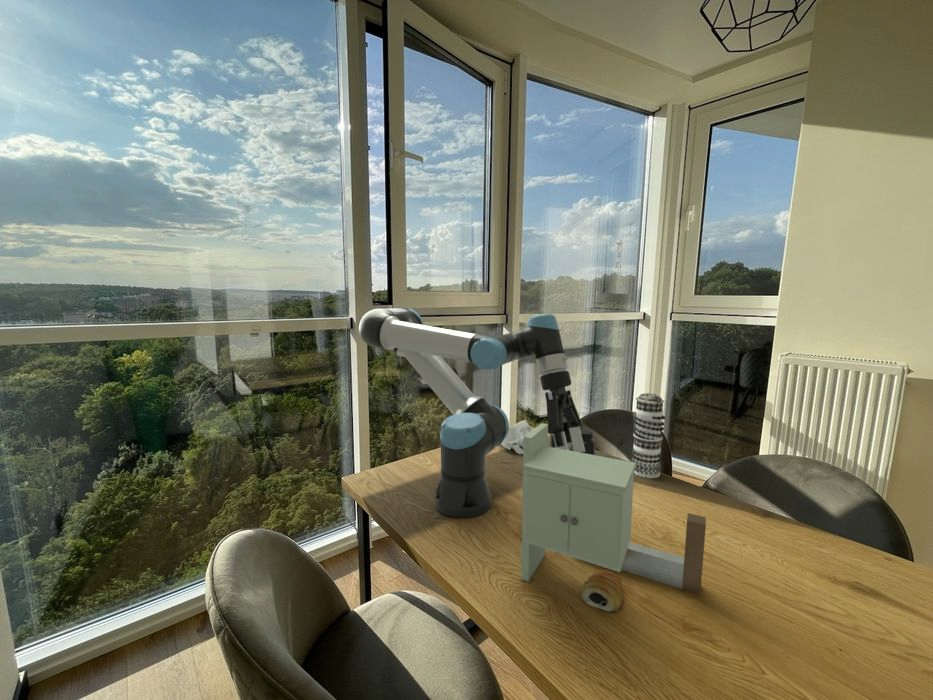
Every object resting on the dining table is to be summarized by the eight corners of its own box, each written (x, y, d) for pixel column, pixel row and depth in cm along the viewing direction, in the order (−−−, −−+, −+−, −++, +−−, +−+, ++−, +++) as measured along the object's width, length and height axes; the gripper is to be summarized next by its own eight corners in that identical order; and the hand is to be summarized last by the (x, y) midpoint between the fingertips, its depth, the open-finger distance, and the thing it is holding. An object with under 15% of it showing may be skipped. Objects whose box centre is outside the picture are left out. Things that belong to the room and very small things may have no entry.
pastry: (594, 574, 82) (595, 556, 82) (629, 587, 79) (631, 569, 78) (578, 602, 75) (579, 583, 74) (617, 619, 71) (618, 599, 70)
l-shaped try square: (571, 555, 88) (573, 493, 86) (575, 547, 91) (577, 487, 89) (700, 595, 76) (705, 524, 74) (700, 585, 79) (705, 517, 77)
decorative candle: (659, 468, 133) (664, 392, 129) (663, 480, 124) (668, 399, 121) (629, 464, 136) (633, 390, 132) (630, 476, 127) (635, 397, 124)
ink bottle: (564, 458, 141) (565, 424, 139) (544, 451, 148) (544, 419, 146) (581, 452, 147) (582, 419, 145) (561, 445, 154) (562, 414, 152)
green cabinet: (512, 592, 77) (514, 443, 73) (538, 553, 89) (541, 423, 85) (617, 632, 68) (625, 464, 64) (630, 583, 79) (637, 438, 76)
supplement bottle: (595, 472, 130) (597, 435, 128) (573, 470, 131) (574, 434, 129) (593, 464, 136) (594, 429, 135) (572, 462, 138) (573, 427, 136)
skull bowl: (530, 456, 139) (515, 423, 142) (503, 467, 148) (489, 435, 151) (548, 448, 146) (533, 416, 149) (521, 459, 155) (508, 429, 159)
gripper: (552, 367, 94) (573, 462, 90) (580, 371, 115) (598, 447, 111) (522, 375, 97) (541, 466, 93) (555, 376, 119) (572, 450, 115)
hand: (572, 456), depth 102 cm, fingers open, 13 cm apart
